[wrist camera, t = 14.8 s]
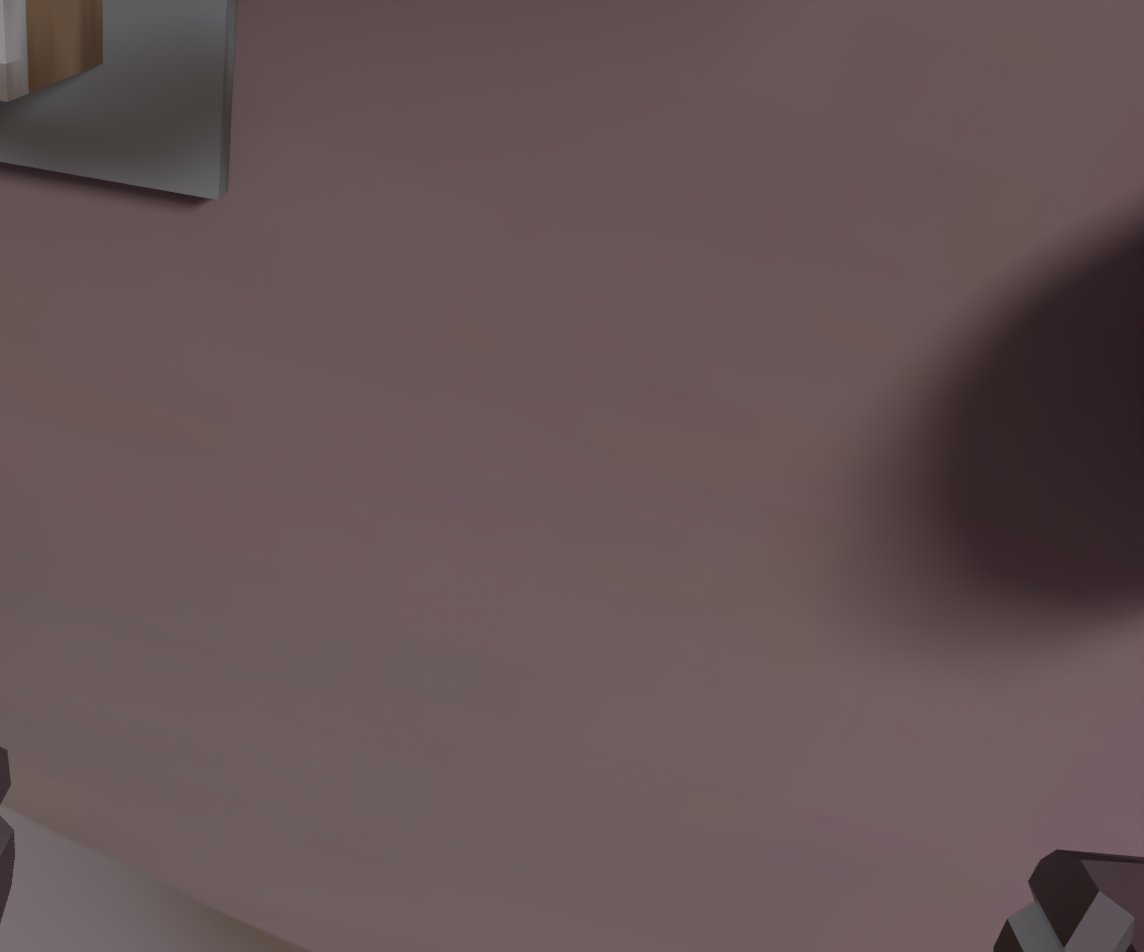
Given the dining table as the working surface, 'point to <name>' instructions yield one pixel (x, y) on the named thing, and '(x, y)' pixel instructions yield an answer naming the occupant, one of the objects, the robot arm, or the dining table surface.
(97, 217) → the dining table surface
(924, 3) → the dining table surface
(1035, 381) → the dining table surface
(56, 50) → the display riser
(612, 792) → the dining table surface
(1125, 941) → the robot arm
